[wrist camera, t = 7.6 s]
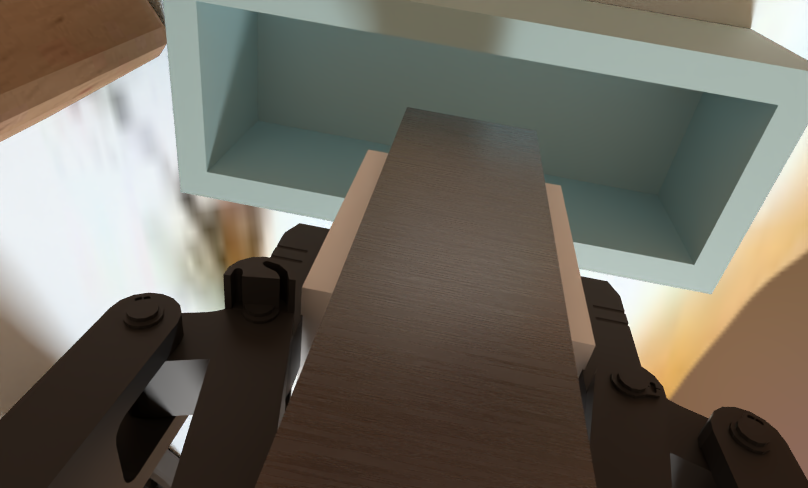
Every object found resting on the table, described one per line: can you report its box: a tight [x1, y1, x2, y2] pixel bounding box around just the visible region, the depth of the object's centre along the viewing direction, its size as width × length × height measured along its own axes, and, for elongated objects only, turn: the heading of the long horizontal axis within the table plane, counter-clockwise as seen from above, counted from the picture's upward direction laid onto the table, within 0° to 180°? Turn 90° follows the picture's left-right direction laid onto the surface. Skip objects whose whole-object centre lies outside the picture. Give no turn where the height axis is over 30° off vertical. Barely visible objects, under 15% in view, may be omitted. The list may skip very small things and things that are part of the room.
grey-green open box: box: [163, 0, 808, 294], centre depth 24 cm, size 22×9×7 cm, turn 83°
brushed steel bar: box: [255, 107, 597, 488], centre depth 11 cm, size 4×4×16 cm
